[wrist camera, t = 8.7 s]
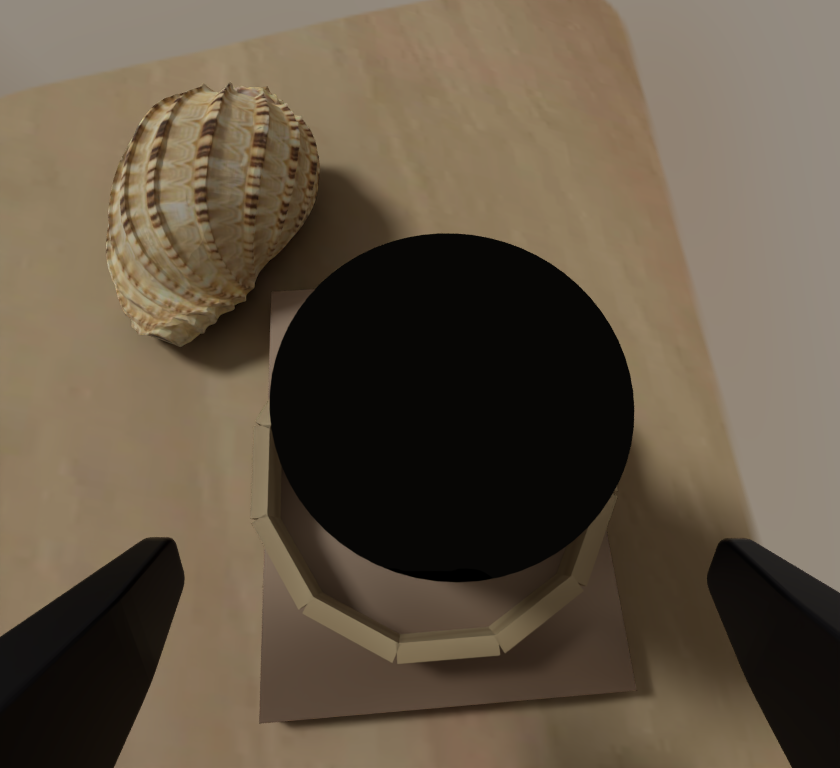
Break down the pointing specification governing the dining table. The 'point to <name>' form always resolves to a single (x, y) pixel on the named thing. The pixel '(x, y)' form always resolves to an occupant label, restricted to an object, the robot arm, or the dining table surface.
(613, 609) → the collar board
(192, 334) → the seashell
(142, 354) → the dining table surface
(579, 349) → the supplement container
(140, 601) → the robot arm
